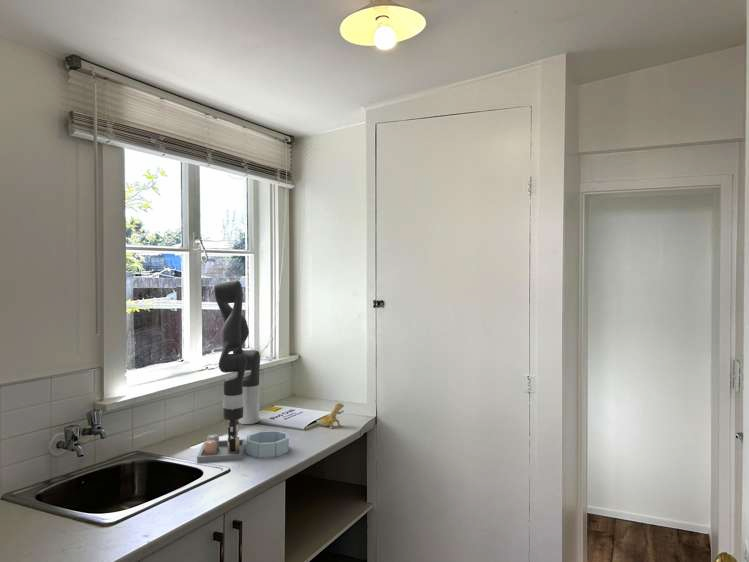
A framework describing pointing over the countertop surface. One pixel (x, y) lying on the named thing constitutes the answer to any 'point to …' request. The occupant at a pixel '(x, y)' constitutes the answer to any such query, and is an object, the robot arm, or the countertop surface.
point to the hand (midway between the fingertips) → (233, 448)
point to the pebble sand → (236, 446)
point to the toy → (331, 417)
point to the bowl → (267, 444)
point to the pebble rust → (210, 447)
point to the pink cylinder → (214, 437)
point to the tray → (222, 453)
